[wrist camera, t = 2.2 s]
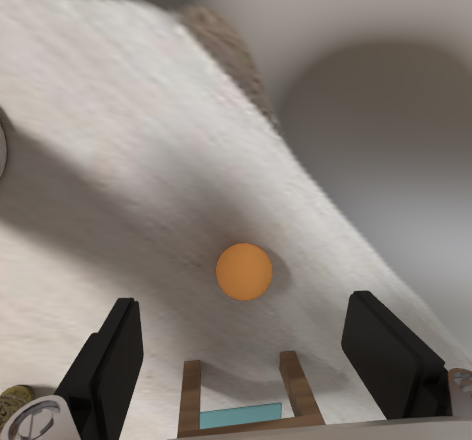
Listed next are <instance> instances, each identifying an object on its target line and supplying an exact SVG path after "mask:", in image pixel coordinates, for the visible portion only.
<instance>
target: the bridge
mask: <svg viewBox="0 0 472 440" xmlns="http://www.w3.org/2000/svg"><path fill="white" fill-rule="evenodd" d="M279 370H280V373H281V376H282V379H283V382H284V385H285V388H286V391H287V394H288V397H289V400H290V404H291V407H292V410H293V413H294V416H295V417H291V418H283V419H276V420H268V421H260V422H252V423H245V424H237V425H229V426H221V427H214V428H206V429H200V390H201V374H200V360H198V361H188V362H184V371H183V381H182V392H181V402H180V413H179V424H178V434H177V438H186V437H197V436H208V435H218V434H229V433H240V432H250V431H261V430H273V429H284V428H295V427H307V426H319V425H326V424H325V422H324V419H323V417H322V415H321V412H320V410H319V408H318V405H317V403H316V401H315V398H314V396H313V393H312V391H311V389H310V386H309V384H308V382H307V379H306V377H305V375H304V372H303V370H302V368H301V365H300V363H299V360H298V358H297V356H296V353H295V351H288V352H280V367H279Z"/></svg>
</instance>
